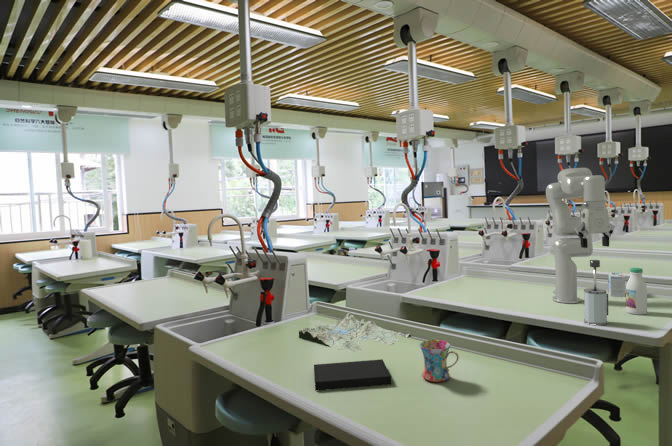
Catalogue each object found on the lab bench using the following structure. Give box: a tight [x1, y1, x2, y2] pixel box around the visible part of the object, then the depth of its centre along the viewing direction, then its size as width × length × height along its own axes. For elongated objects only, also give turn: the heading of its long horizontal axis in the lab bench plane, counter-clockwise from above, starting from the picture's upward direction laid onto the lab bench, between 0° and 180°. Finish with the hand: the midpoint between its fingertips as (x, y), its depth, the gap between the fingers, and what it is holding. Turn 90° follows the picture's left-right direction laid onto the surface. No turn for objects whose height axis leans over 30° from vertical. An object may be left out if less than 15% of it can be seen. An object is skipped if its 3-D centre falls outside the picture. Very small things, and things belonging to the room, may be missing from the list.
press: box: [583, 287, 609, 326], centre depth 183 cm, size 8×9×14 cm
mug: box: [419, 339, 460, 383], centre depth 135 cm, size 12×9×11 cm
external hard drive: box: [313, 359, 392, 392], centre depth 139 cm, size 14×23×3 cm, turn 94°
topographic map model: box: [298, 312, 412, 353], centre depth 180 cm, size 36×29×5 cm
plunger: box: [589, 259, 601, 291], centre depth 182 cm, size 6×6×15 cm
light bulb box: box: [607, 272, 626, 298], centre depth 228 cm, size 11×7×11 cm, turn 154°
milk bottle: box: [625, 267, 648, 316], centre depth 194 cm, size 8×8×20 cm
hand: (595, 246), depth 181 cm, fingers open, 9 cm apart
